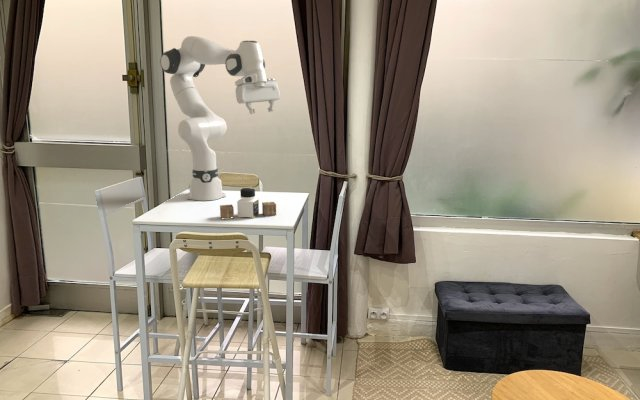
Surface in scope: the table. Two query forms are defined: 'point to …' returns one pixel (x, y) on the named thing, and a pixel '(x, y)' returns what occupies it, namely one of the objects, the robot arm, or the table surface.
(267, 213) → the walnut block two bars
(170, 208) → the table surface
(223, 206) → the walnut block one bar
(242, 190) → the medicine bottle
